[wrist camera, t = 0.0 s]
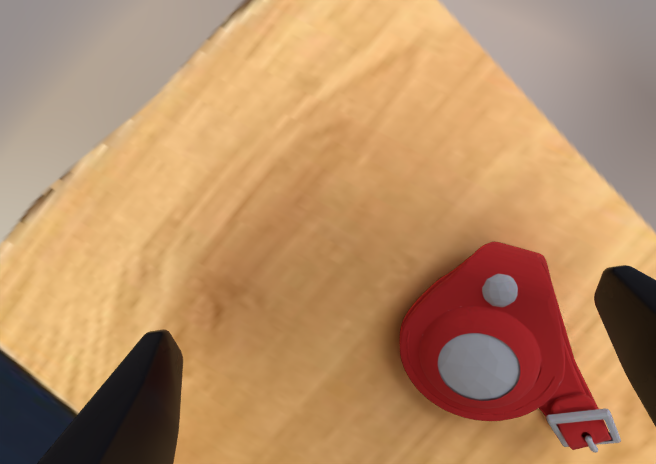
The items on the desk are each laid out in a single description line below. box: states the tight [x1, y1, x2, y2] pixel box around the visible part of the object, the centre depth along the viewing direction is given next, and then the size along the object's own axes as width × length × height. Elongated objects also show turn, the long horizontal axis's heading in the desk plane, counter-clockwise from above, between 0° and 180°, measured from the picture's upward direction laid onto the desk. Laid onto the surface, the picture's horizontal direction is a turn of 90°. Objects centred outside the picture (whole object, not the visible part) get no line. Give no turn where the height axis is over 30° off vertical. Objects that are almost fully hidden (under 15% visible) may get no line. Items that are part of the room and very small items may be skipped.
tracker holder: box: [400, 242, 621, 452], centre depth 23 cm, size 12×4×10 cm
